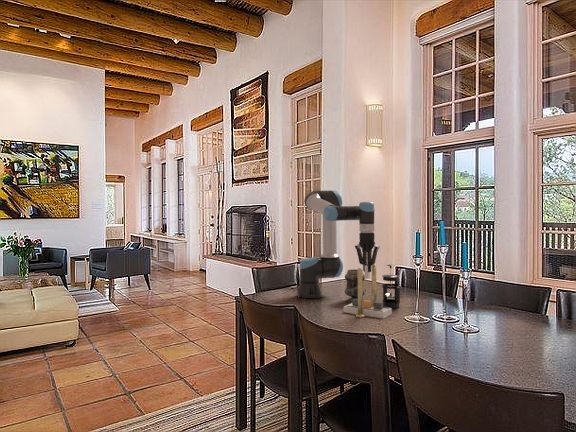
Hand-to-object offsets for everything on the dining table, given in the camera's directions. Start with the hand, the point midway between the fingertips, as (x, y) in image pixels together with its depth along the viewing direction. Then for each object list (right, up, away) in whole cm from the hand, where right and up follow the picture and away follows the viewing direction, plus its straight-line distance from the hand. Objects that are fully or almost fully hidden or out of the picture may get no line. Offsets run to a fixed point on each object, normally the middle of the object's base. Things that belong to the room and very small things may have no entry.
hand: (367, 278), depth 214 cm
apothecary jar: (-2, -18, +28) cm, 33 cm away
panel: (0, -18, 0) cm, 18 cm away
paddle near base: (-5, -15, +4) cm, 16 cm away
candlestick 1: (-5, -18, -6) cm, 20 cm away
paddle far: (+5, -15, -3) cm, 16 cm away
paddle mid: (0, -15, 0) cm, 15 cm away
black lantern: (+16, -18, +13) cm, 27 cm away
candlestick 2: (+5, -18, +7) cm, 20 cm away
